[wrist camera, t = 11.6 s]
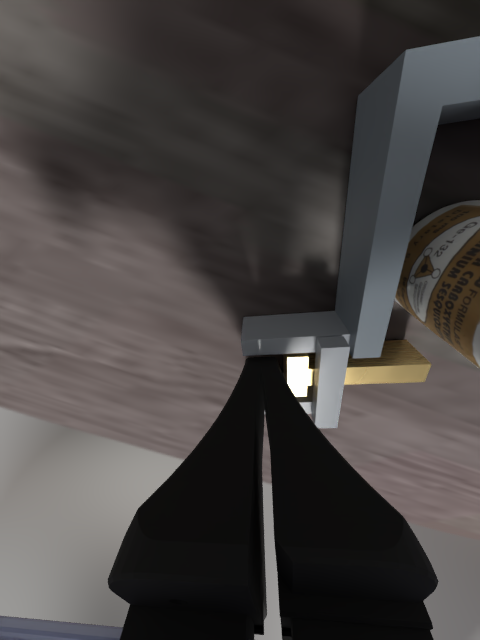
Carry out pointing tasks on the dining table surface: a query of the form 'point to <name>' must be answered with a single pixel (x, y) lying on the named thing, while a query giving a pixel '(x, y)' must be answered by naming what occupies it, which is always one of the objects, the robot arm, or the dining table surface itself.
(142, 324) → the dining table surface
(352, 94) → the dining table surface
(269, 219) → the dining table surface
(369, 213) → the dock bay
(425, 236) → the pill bottle
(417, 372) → the lock bar
